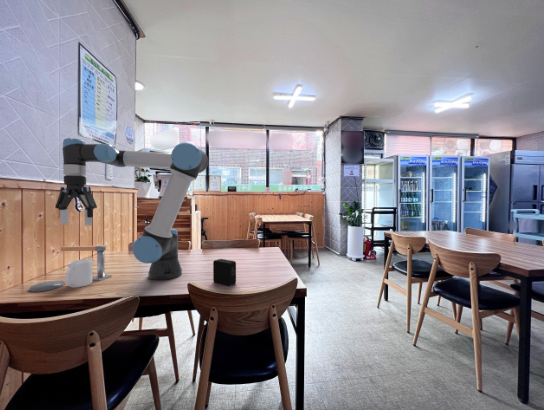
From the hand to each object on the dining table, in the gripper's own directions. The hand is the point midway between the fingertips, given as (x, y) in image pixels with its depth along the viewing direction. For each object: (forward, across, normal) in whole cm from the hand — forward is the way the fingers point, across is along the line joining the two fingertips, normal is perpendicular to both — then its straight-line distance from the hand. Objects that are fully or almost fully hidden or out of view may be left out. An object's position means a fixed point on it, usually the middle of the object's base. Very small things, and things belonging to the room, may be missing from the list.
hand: (76, 225), depth 104 cm
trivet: (+26, +11, +4) cm, 29 cm away
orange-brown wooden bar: (+13, +7, -8) cm, 17 cm away
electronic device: (+27, -60, -19) cm, 69 cm away
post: (+26, 0, -11) cm, 28 cm away
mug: (+27, 0, 0) cm, 27 cm away
